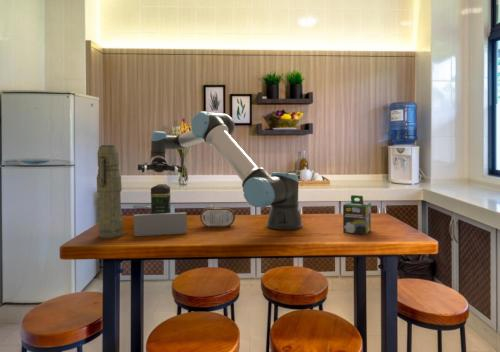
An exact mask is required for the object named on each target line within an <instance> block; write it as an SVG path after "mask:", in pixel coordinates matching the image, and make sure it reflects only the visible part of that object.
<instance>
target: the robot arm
mask: <svg viewBox="0 0 500 352" xmlns="http://www.w3.org/2000/svg"><path fill="white" fill-rule="evenodd" d="M235 126H236V125H235V121H234V119H233V118H232V116H230V115H228V114H227V113H224V112H212V111H206V110H203V111H198V112H196V113H195V114H194V116H193V117H192V120H191V127H190V128H191V130H189V131H186V132H183V133H181V134H178V135H171V134H167V132H166V131H162V130H161V131H159V130H153V131H152V133H151V139H150V140H151V141H150V142H151V143H150V157H149V162H148V161H145V162H143V163H139V164H137V171H141V173H144V174H147V173H148V172H147V171H154V172H155V173H163V172H166V171H170V172H174V174H175V176H177V175H179V173H183V166H180V165H179V164H178V165H177V164H175V163H170V164H169V163H167V161H166V154H167V153H166V151H167V150H180V151H181V150H186V149H188V148H189V147H191V146H194V145H199V144H201V143H206V145H208V146H210V147H213V148H214V149H215V150H216V151H217V152H218V153H219V155H220V156H221V157H222V159H223V160H225V162H226V163H227V164H228V165H229V167H230V168H231V170H232V171H233V172H234V174H235V175H237V177H238V178H239V179H240V180H241V181H242V182H241V186H242V187H241V188H242V192H243V198H244V200H246V202H247V203H248V204H249V205H251V206H252V207H255V208H266V207H269V206H270V211H269V215H268V217H267V220H266V227H267V228H270V229H273V230H282V231H283V230H285V231H286V230H287V231H289V230H291V231H292V230H298V229H301V228H302V227H303V220H302V217H301V214H300V209H299V183H300V182H299V176H298V175H297V174H296V173H290V172H279V171H277V172H276V171H275V172H274V171H272V172H271V173H270V174H269V173H268V171H267V170H266V169H265V168H264V167H258V165H256V163H255V162H254V161H253V159H252V158H251V157H250V156H249V155H248V154H247V153H246V152H245V151H244V150H243V148H242V147H241V146H240V145H239V144H238V142H236V141H235V139H234V138H233V137H232V134H233V133H234V132H235V129H236V127H235Z"/></svg>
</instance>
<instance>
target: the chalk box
mask: <svg viewBox="0 0 500 352" xmlns="http://www.w3.org/2000/svg"><path fill="white" fill-rule="evenodd" d="M355 199H359V200H358V201H357V200H355ZM342 210H343V211H342V233H344V234H345V233H348V234H353V235H356V234H357V235H363V236H367V234H369V232H370V231H372V202H369V201H367V202H366V201H364V196H363V195H353V194H352V195H350V201H348V202H346V203H344V204H343V206H342Z"/></svg>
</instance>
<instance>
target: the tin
mask: <svg viewBox="0 0 500 352" xmlns="http://www.w3.org/2000/svg"><path fill="white" fill-rule="evenodd" d="M199 218H200V222H201V224H202V225H203V226H205V227H209V228H217V227H218V228H224V227H225V228H226V227H230V226H232V225H233V224H234V222H235V219H236V213H235V211H234V210H233V209H232V208H231V207H228V206H209V207H208V206H207V207H204V208H203V209H202V211H200V216H199Z"/></svg>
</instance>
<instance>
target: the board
mask: <svg viewBox="0 0 500 352" xmlns="http://www.w3.org/2000/svg"><path fill="white" fill-rule="evenodd" d="M187 215H188V214H187V212H186V211H184V212H183V211H182V212H181V211H180V212H171V213H158V214H151V213H142V214H139V213H138V214H133V236H134V237H143V236H144V237H146V236H147V237H148V236H163V235H164V234H165V235H179V234H181V235H182V234H187V233H188V229H187V228H188V224H187V223H188V221H187V220H188V219H187Z"/></svg>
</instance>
